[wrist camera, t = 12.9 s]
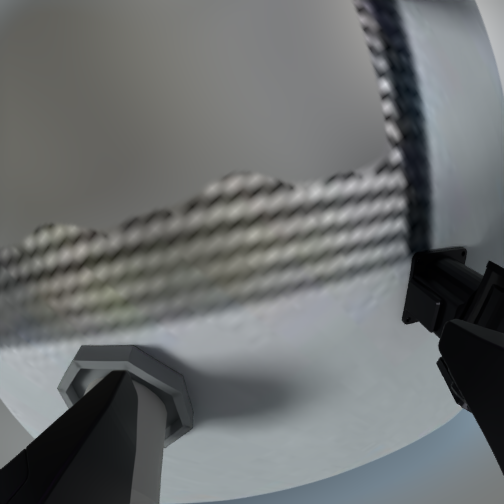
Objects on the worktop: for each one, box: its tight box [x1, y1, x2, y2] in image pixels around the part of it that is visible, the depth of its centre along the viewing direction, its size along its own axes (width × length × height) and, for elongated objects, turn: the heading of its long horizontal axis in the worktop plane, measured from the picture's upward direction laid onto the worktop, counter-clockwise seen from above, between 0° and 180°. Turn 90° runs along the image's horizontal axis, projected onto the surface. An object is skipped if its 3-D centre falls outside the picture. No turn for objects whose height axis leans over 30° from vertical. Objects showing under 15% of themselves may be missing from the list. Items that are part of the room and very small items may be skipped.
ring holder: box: [57, 345, 193, 448], centre depth 22 cm, size 12×12×2 cm
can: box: [84, 377, 167, 504], centre depth 17 cm, size 8×8×12 cm
